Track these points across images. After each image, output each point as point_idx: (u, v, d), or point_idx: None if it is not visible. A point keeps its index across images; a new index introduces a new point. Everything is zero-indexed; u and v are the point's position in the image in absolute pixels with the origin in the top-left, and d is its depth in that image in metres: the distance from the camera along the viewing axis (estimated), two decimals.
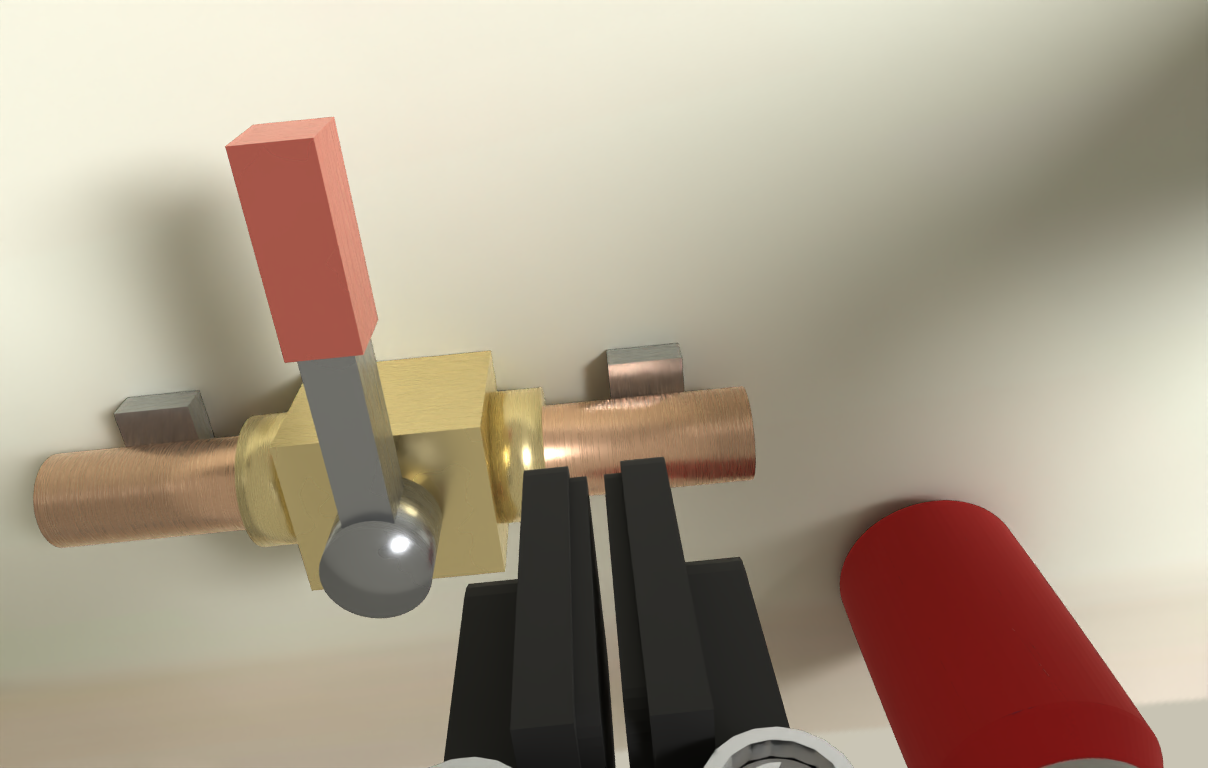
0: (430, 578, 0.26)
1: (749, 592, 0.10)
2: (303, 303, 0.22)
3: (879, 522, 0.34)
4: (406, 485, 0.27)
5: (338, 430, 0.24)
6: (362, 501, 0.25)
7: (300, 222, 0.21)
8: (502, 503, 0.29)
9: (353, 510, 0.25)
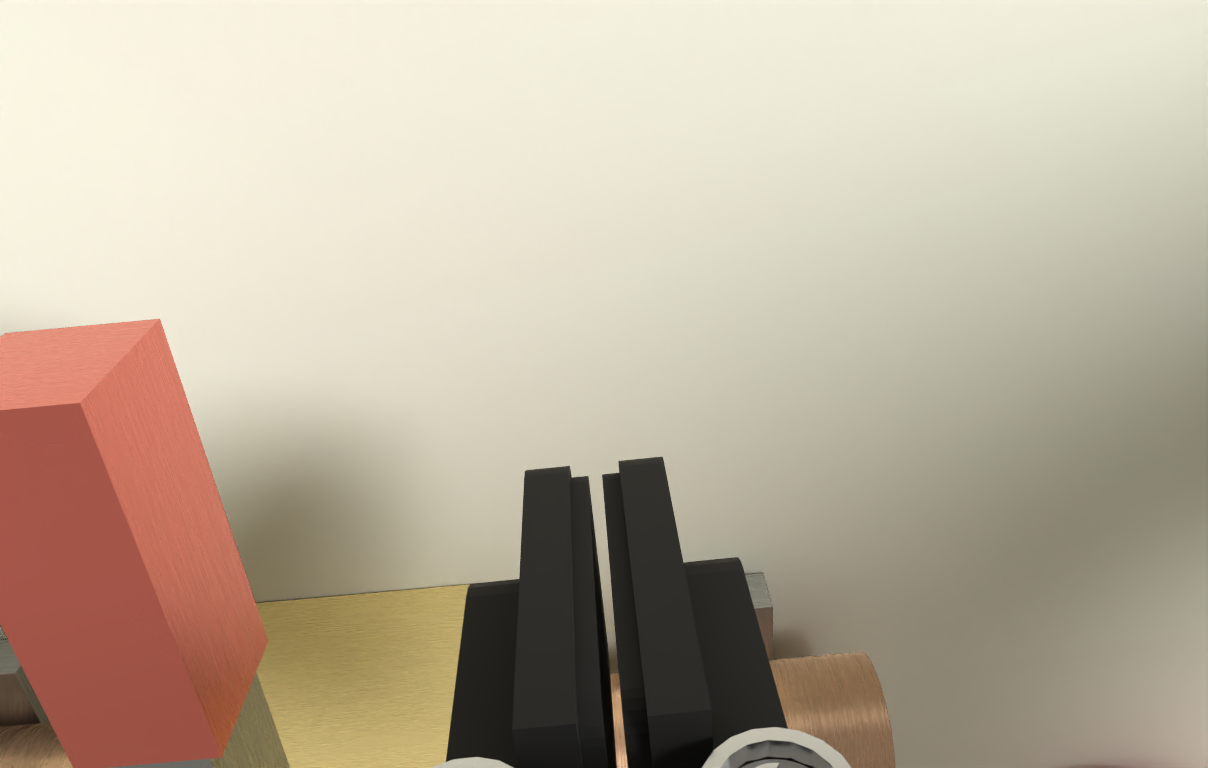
0: None
1: (748, 592, 0.10)
2: (97, 681, 0.11)
3: None
4: None
5: None
6: None
7: (76, 546, 0.11)
8: None
9: None
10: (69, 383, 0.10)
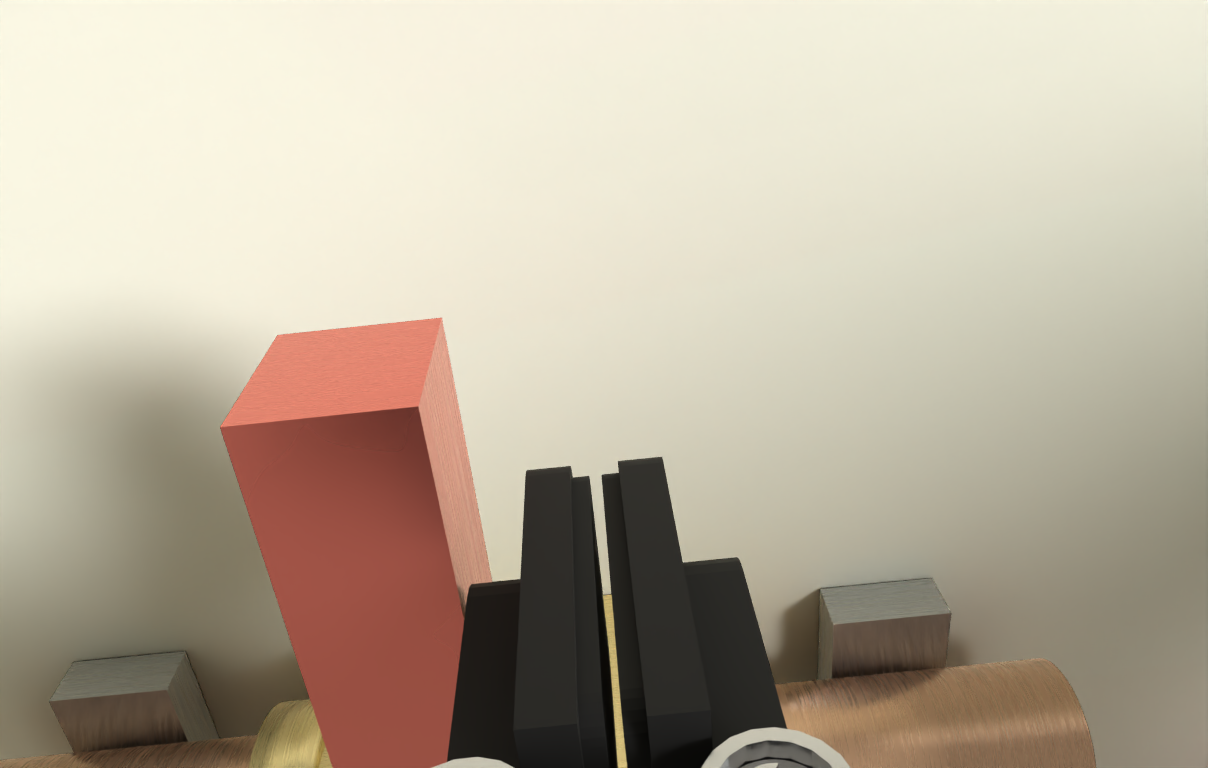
0: None
1: (747, 592, 0.10)
2: (383, 702, 0.11)
3: None
4: None
5: None
6: None
7: (380, 559, 0.10)
8: None
9: None
10: (390, 386, 0.09)
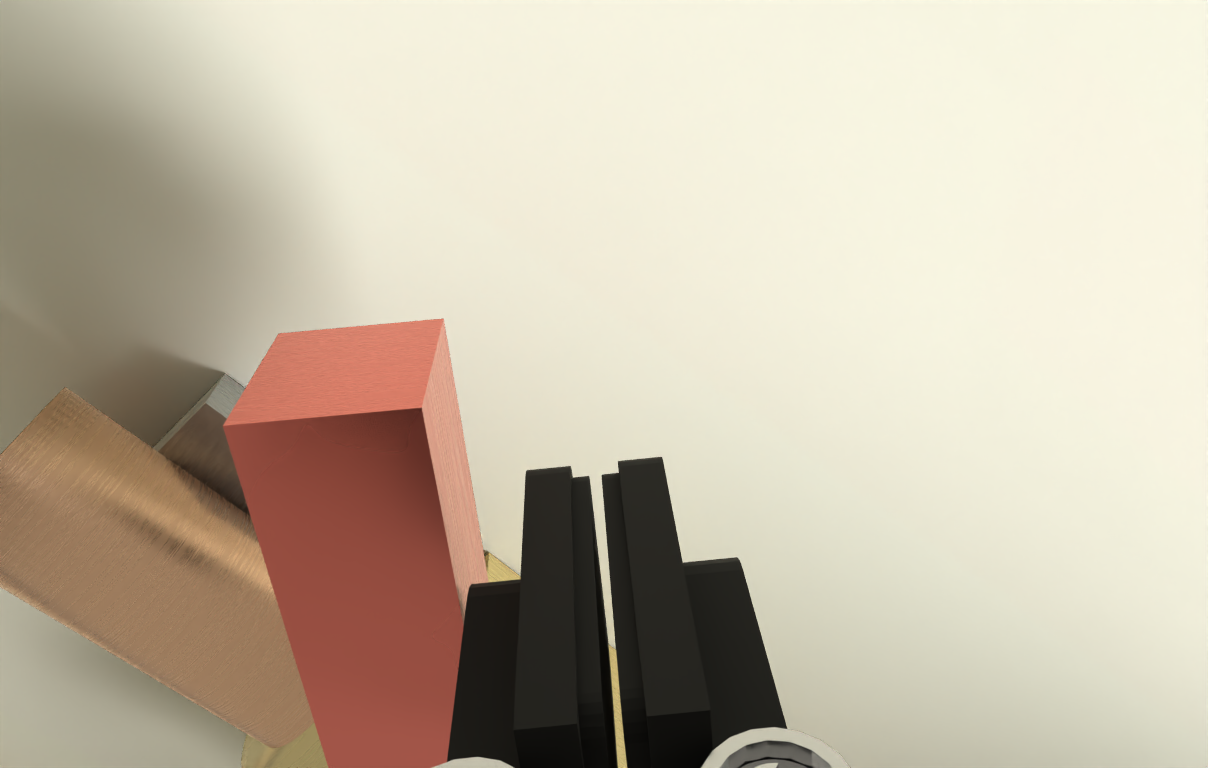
0: None
1: (747, 593, 0.10)
2: (380, 701, 0.11)
3: None
4: None
5: None
6: None
7: (379, 560, 0.10)
8: None
9: None
10: (393, 386, 0.09)
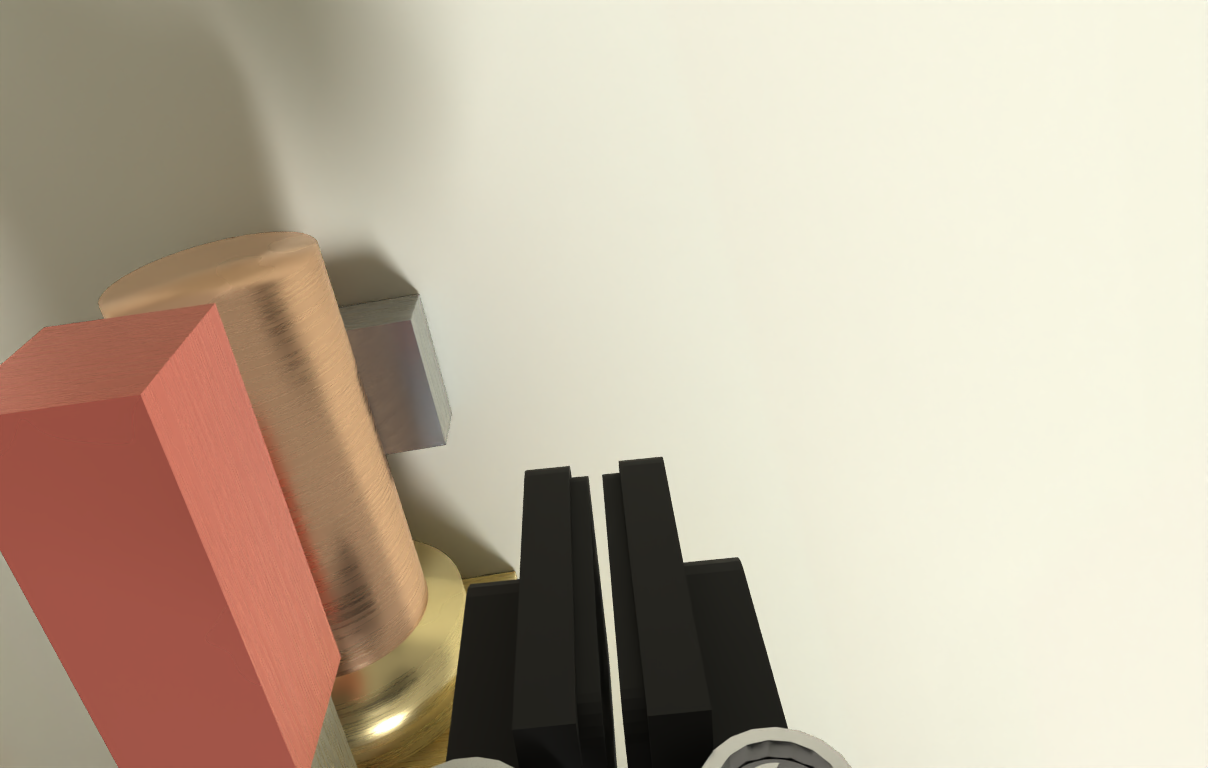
0: None
1: (748, 592, 0.10)
2: (165, 711, 0.10)
3: None
4: None
5: None
6: None
7: (139, 561, 0.09)
8: None
9: None
10: (124, 374, 0.09)
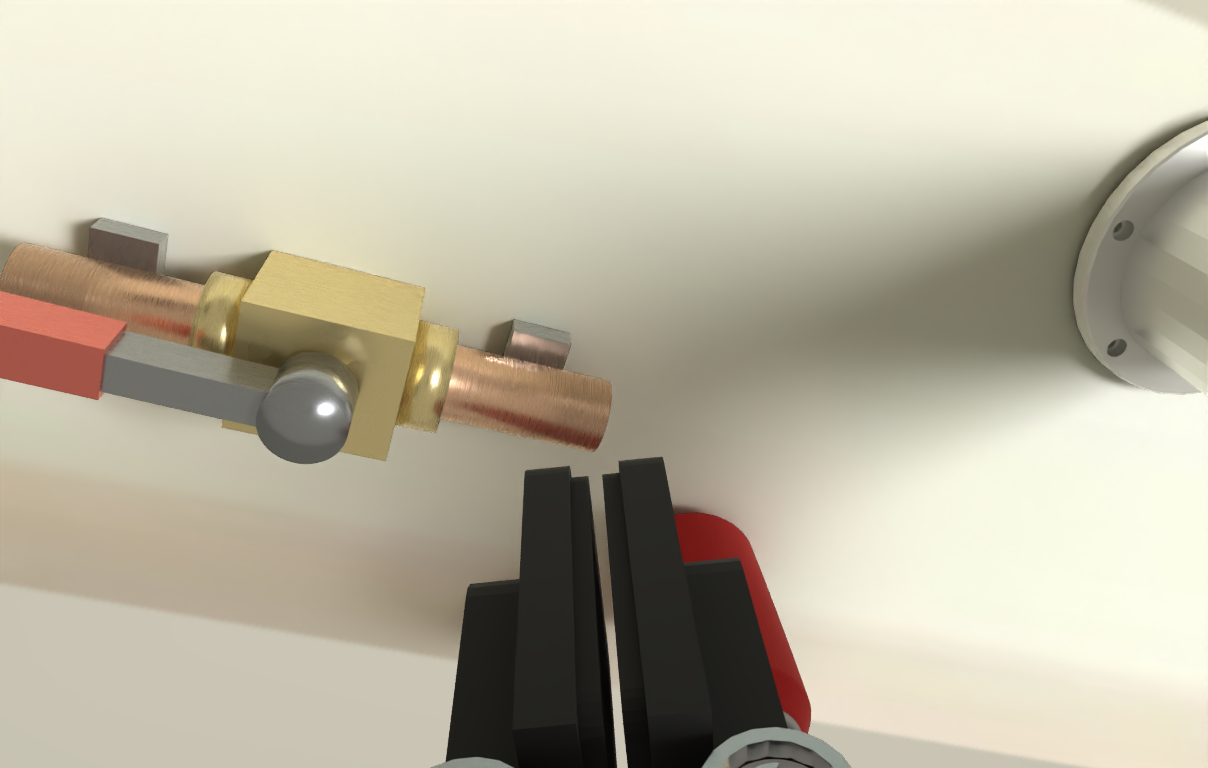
0: (318, 392, 0.31)
1: (748, 592, 0.10)
2: (51, 367, 0.30)
3: None
4: (280, 366, 0.33)
5: (169, 392, 0.31)
6: (239, 404, 0.31)
7: None
8: (404, 407, 0.35)
9: (245, 413, 0.32)
10: None
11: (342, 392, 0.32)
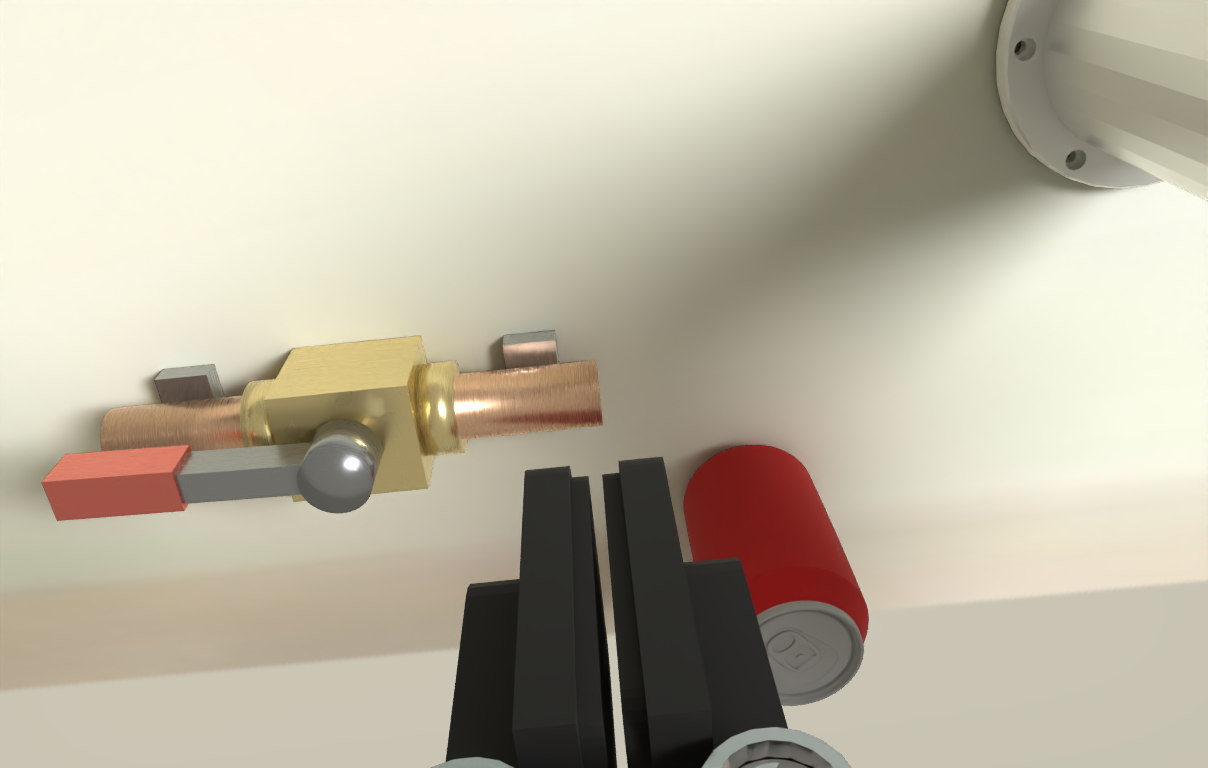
0: (334, 452, 0.37)
1: (748, 593, 0.10)
2: (143, 497, 0.38)
3: (708, 461, 0.47)
4: (311, 440, 0.40)
5: (231, 488, 0.39)
6: (284, 481, 0.39)
7: (95, 492, 0.38)
8: (425, 440, 0.41)
9: (291, 486, 0.39)
10: None
11: (357, 446, 0.38)
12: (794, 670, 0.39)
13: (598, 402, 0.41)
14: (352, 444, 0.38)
